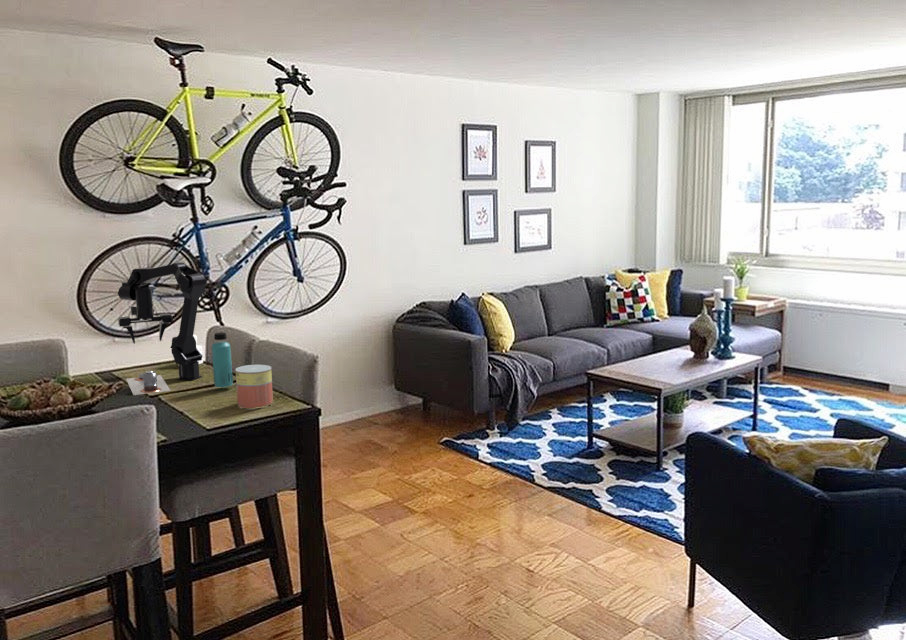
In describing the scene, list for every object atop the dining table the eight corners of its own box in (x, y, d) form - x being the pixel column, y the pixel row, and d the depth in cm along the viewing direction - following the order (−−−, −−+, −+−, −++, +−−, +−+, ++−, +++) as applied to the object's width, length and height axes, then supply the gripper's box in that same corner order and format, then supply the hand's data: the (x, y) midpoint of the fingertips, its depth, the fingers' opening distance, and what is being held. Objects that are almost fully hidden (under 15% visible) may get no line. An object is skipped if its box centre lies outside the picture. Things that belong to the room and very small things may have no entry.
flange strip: (125, 378, 282) (125, 374, 282) (160, 374, 288) (159, 370, 288) (133, 395, 259) (133, 390, 259) (170, 390, 265) (170, 385, 265)
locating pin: (160, 388, 267) (158, 370, 266) (151, 391, 263) (150, 373, 262) (149, 387, 268) (148, 369, 267) (141, 391, 264) (139, 372, 263)
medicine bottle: (177, 366, 303) (175, 336, 300) (187, 362, 309) (185, 333, 307) (193, 366, 301) (191, 337, 299) (203, 362, 308) (201, 333, 306)
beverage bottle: (230, 391, 264) (227, 334, 260) (211, 391, 263) (207, 334, 260) (235, 386, 270) (232, 331, 267) (217, 386, 270) (213, 331, 267)
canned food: (244, 399, 253) (242, 364, 251) (277, 399, 253) (275, 364, 251) (232, 409, 242) (230, 372, 240) (267, 409, 242) (265, 372, 240)
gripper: (167, 297, 297) (170, 336, 300) (115, 300, 289) (118, 341, 291) (171, 300, 288) (174, 341, 290) (117, 304, 279) (121, 346, 282)
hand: (147, 342), depth 289 cm, fingers open, 9 cm apart
